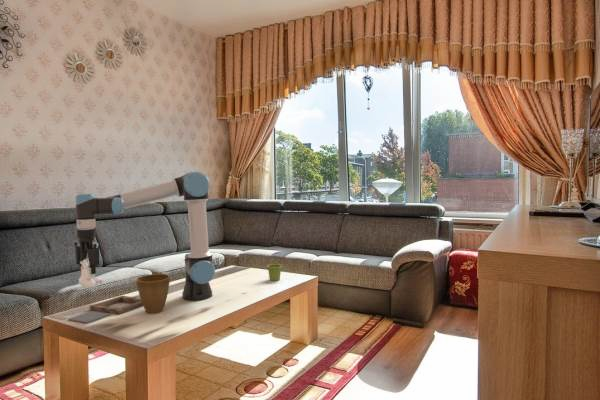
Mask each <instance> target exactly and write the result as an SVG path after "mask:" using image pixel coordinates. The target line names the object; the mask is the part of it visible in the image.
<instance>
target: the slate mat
mask: <svg viewBox="0 0 600 400" xmlns="http://www.w3.org/2000/svg"><path fill="white" fill-rule="evenodd" d="M111 315H112V313H106V312H99V311H93V310H90V311H87V312H84V313H82V314H79V315H76V316H73V317H69V318H68V319H67V320H68V321H73V322H76V321H77V323H82V322H84V323H83V324H90V323H93V322H95V321H99V320H101V319H104V318H107V317H109V316H111Z"/></svg>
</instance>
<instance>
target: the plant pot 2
mask: <svg viewBox="0 0 600 400" xmlns="http://www.w3.org/2000/svg"><path fill="white" fill-rule="evenodd" d="M282 267H283V265H282V264H280V263H273V264H271V263H270V264H267V265H266V268H267V271H268V278H269V280H270V281H272V282H274V281H277V282H278V281H280V280H281V274H282V273H281V271H282Z"/></svg>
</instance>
